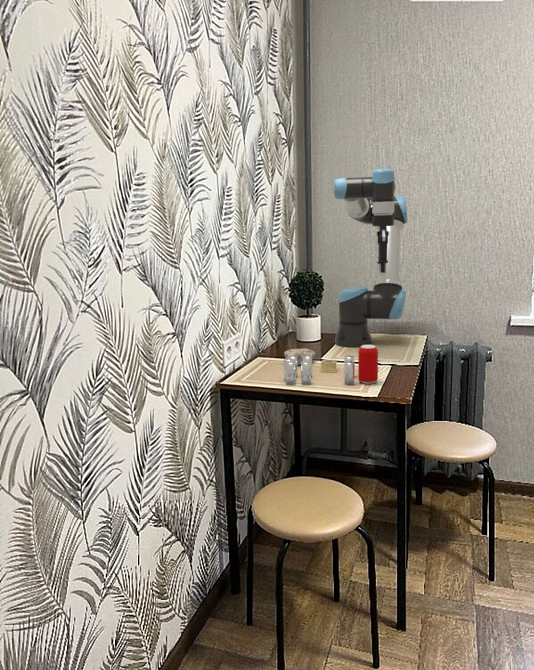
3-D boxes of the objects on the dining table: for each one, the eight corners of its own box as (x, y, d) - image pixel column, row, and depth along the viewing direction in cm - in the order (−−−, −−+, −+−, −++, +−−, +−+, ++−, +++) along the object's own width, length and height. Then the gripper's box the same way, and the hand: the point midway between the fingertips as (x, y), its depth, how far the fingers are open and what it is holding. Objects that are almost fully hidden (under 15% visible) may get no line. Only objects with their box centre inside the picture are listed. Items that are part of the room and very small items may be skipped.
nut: (322, 369, 219) (322, 359, 218) (336, 369, 218) (336, 359, 217) (321, 372, 214) (321, 362, 213) (335, 373, 213) (335, 363, 213)
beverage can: (357, 379, 204) (357, 344, 201) (376, 379, 203) (376, 343, 201) (359, 384, 198) (359, 348, 195) (379, 384, 197) (379, 348, 195)
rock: (284, 367, 222) (283, 352, 221) (285, 360, 233) (285, 345, 232) (314, 367, 221) (314, 351, 220) (315, 359, 232) (314, 344, 231)
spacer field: (285, 375, 211) (285, 355, 210) (369, 375, 208) (369, 355, 206) (282, 384, 201) (282, 363, 199) (370, 385, 197) (370, 363, 196)
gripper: (371, 214, 223) (371, 279, 228) (372, 215, 210) (372, 283, 215) (392, 214, 222) (391, 279, 227) (395, 214, 209) (394, 283, 214)
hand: (382, 281), depth 221 cm, fingers closed
